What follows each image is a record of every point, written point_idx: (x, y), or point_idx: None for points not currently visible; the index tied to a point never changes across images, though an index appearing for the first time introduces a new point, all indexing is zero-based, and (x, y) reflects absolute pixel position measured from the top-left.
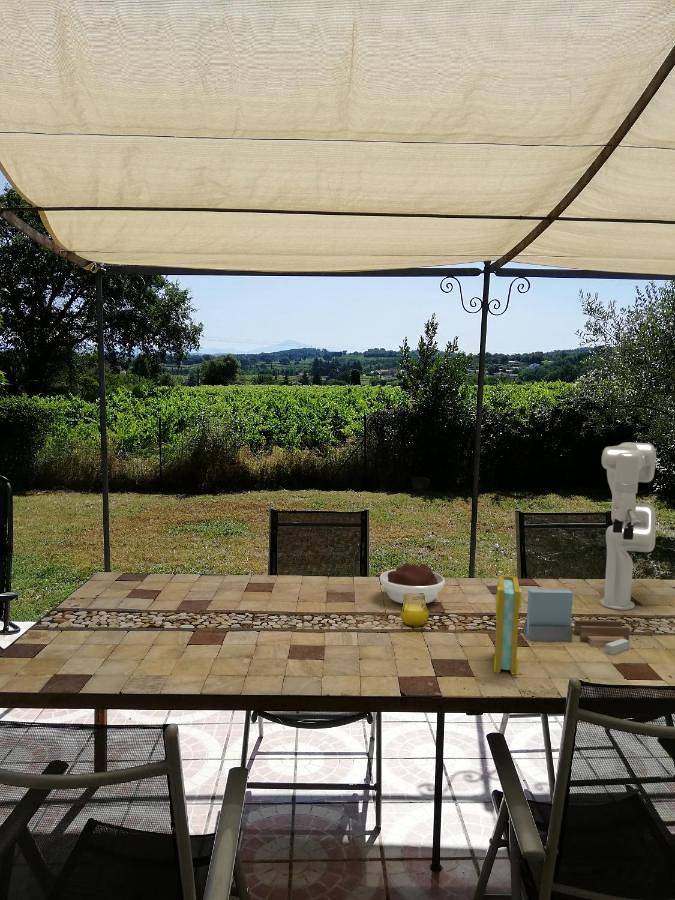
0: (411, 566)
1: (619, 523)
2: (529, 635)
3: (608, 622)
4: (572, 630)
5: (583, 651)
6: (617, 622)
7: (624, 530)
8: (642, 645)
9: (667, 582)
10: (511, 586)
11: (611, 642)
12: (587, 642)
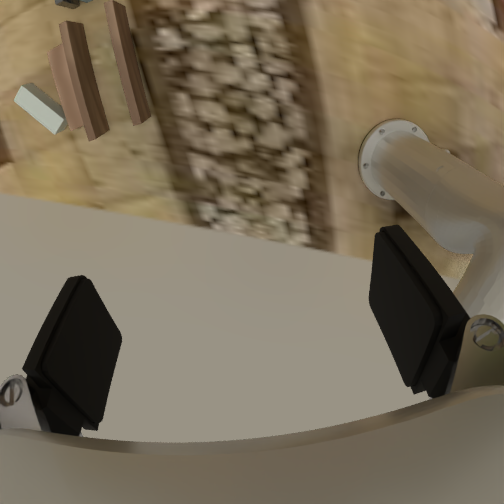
0: None
1: (411, 355)
2: None
3: (123, 88)
4: (60, 5)
5: (25, 41)
6: (130, 112)
7: (33, 347)
8: (97, 161)
9: None
10: None
11: (33, 96)
12: None
